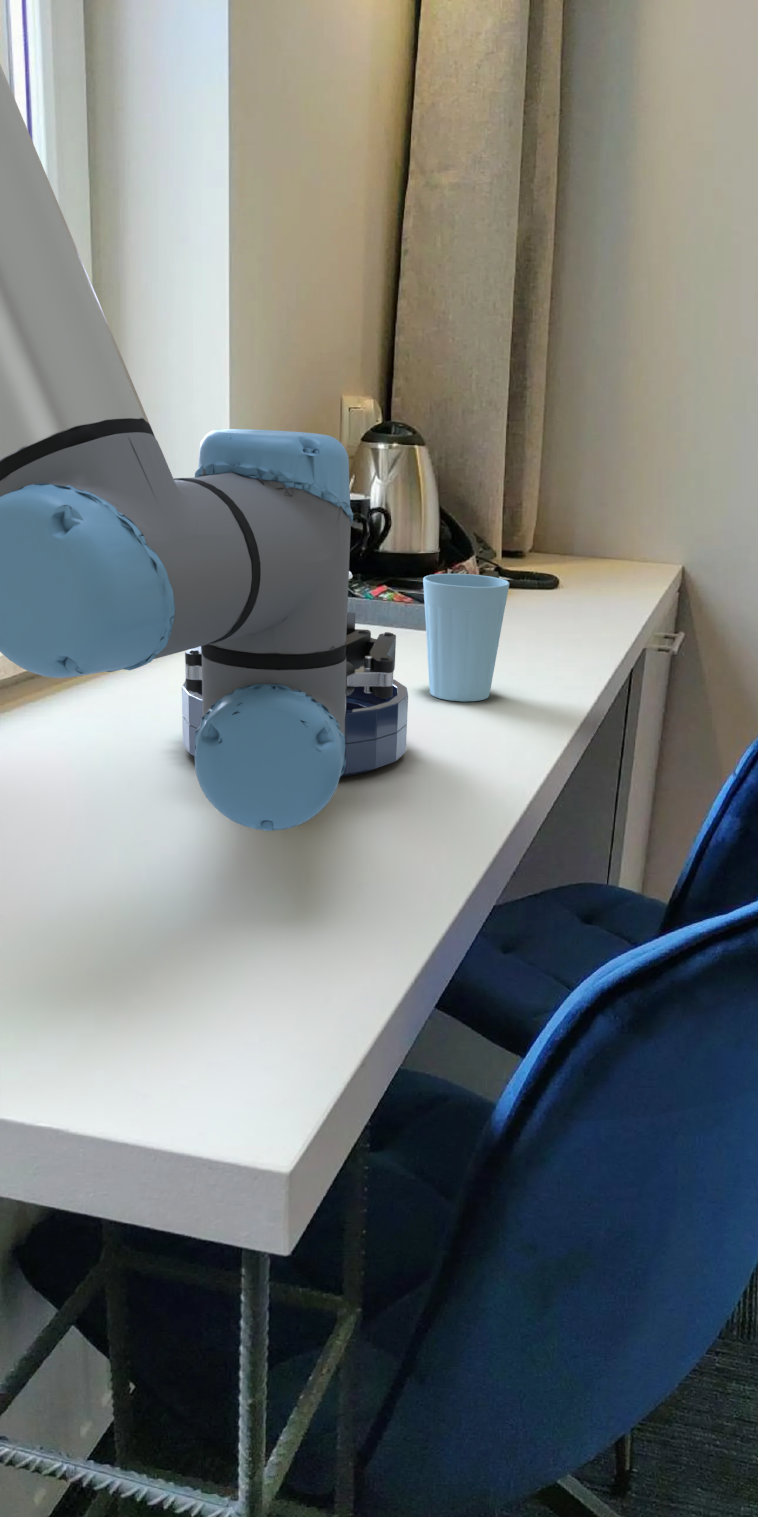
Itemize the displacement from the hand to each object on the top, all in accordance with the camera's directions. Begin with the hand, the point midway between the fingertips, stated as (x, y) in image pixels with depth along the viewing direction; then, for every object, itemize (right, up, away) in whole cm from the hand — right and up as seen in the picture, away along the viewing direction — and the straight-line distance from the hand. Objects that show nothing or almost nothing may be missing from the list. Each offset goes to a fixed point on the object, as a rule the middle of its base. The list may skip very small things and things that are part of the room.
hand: (300, 628), depth 99 cm
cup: (+12, -3, +19) cm, 23 cm away
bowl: (0, -10, -2) cm, 10 cm away
